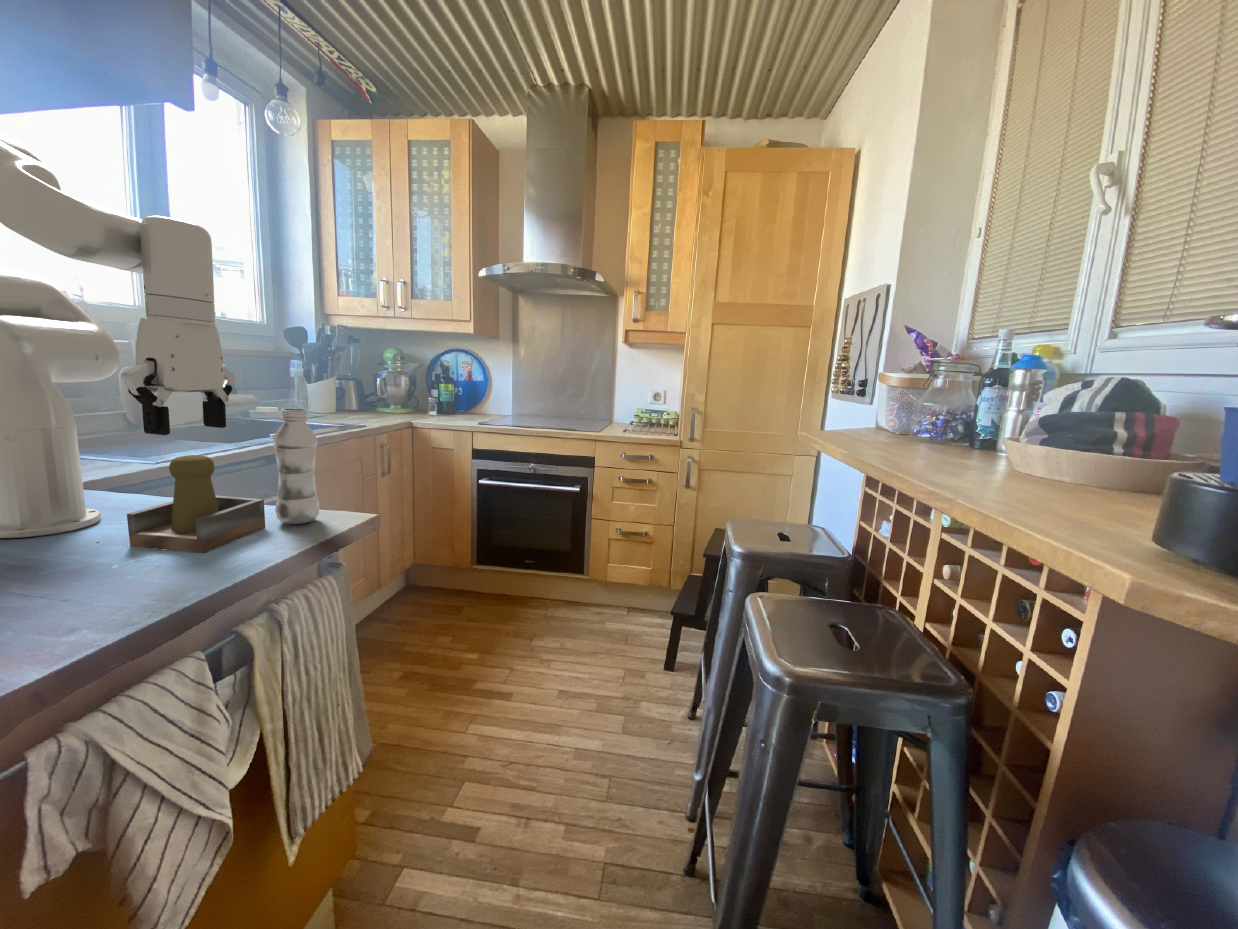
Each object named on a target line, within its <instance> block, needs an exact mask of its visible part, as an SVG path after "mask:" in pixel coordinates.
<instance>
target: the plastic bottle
mask: <svg viewBox="0 0 1238 929" xmlns="http://www.w3.org/2000/svg"><path fill="white" fill-rule="evenodd" d="M280 411H281V413H280V414H281V416H280V420H281V421H282V424H281V425H280V426H279V428H278V429H277V431H276V432H275V434H274V436H273V439H272V444H273V449H274V454H275V458H276V459H275V460H276V466H277V471H278V474H277V475H278V484H277V490H278V491H277V498H276V502H275V514H276V518H277V519H278V521H279V522H280V523H282V524H286V525H299V524H306V523H311V522H313V521H315V520H316V519H317V518H318V516H319V513H320V501H319V497H318V494H317V486H316V478H315V477H316V476H315V473H316V471H315V469H316V456H317V449H318V438H317V435H316V433H315V432H314V431H313V430H312V428H311V427H310V426H309V425H308V424H307V421H308V420H309V418H308V413H307V412H308V411H307V409H304V408H290V407H289V408H281V410H280Z"/></svg>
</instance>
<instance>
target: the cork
mask: <svg viewBox="0 0 1238 929" xmlns="http://www.w3.org/2000/svg"><path fill="white" fill-rule="evenodd" d="M214 462H215V461H214V460H213V459H212V457H209V456H207V455H206V456H205V455H198V454H197V455H196V454H191V455H190V454H188V455H182V456H177V457H174V458H172V460H171V461H170V463H169V466H168V469H169V473H170V475H171V476H172V477H173V478H174V489H173V500H172V501H173V510H172V522H171V530H173V531H176V532H196V522H195V519H198V518H201V517H204V516H207V515H210V514H213V513H217V512H219V509H218V505H217V501H216V497H215V495H216V494H215V489H214V486H213V481H212V477H211V476H212V475H213V474H214V472H215V463H214Z"/></svg>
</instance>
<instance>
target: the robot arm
mask: <svg viewBox="0 0 1238 929" xmlns="http://www.w3.org/2000/svg"><path fill="white" fill-rule="evenodd" d="M0 224H2V225H3V226H4V227H6V228H7V229H9V230H11V231H12V232H14V233H16V234H18V235H20V236H22V237H24V238H25V239H28V240H29V241H31V242H33V243H36V244H37V245H38V246H41V247H43V248H45V249H47V250H49V251H51V252H53V253H55V254H58V255H60V256H64V257H66V258H69V259H73V260H76V261H81V262H86V263H91V264H94V265H95V264H96V265H100V266H104V267H105V266H106V267H111V268H115V269H118V270H122V271H128V272H132V273H135V274H136V273H137V274H140V275H141V274H142V282H143V294H144V295H143V296H144V297H143V298H144V308H145V310H144V312H145V317H141V318H140V320H139V324H138V327H137V332H136V340H135V362H134V364H135V365H133V367H131V368H129V369H127V370H125V371H123V372H122V373H120V376H121V377H120V378H121V379H122V381H123V383H124V384H125V386H126V388H128V390H127V391H128V394H130V396H132V397H133V398H134V399H135V400H136V402H135V403H137V405H139V406H141V409H142V410H141V411H142V422H143V423H142V424H143V432H144V433H145V434H149V435H156V436H157V435H158V436H168V435H170V433H171V425H170V424H171V423H170V410H169V406H166V405H165V403H166V402H167V400H168V399H169V398H170V396H171V395H172V393H198V392H200V393H201V394H202V396H203V397H204V399H205V400H202V417H203V418H202V420H203V422H202V423H203V426H205V427H209V428H218V429H224V428H226V427H227V415H226V414H227V413H226V408H227V407H226V403H228V402H229V399H230V398H229V396H230V394H231V393H232V392H233V385H234V382H235V380H236V374H234V372H231V371H230V369H227V368H226V367H224V359H223V358H224V356H223V351H222V349H223V348H222V345H221V340H220V334H219V331H218V328H217V326H216V315H217V314H216V310H215V290H214V288H215V287H214V285H215V284H214V265H213V245H212V244H213V243H212V238H211V235H210V233H209V231H207V229H205V228H204V227H203V226H200V225H198V224H195V223H193V222H190V221H186V220H181V219H178V218H173V217H167V216H161V215H148V216H145V217H143V218H142V219H141V218H138V217H134V216H132V215H129V214H126V213H123V212H120V211H116V210H114V209H110V208H108V207H105V206H101V205H99V204H96V203H92V202H88V201H85V200H82V199H79V198H76V197H74V196H72V195H70V194H67V193H65V192H63V191H61V186H60V182H59V181H58V178H57V177H56V176H55V175H54V174H53V172H52V171H51V170H50V169H49V168H48V167H47V166H45V164H44V163H43V161H42V160H41V159H40V158H39V156H37V154H36V153H35V152H33V151H32V150H31V149H30V148H29V147H27V146H26V145H24V144H22V143H21V142H19V141H18V140H15V139H13V138H12V137H8V136H6V135H4V134H0ZM120 363H121V356H120V352H119V349H118V347H117V345H116V343H115V341H114V340H113V338H112V337H111V335H110V334H109V333H108V332H107V331H106V329H104V328H103V327H102V326H101V325H100V324H99V323H98V322H97V321H95V320H94V318H92V317H91V316H90V315H89V314H88V313H87V312H86V311H85V310H84V309H83V308H82V307H81V306H80V305H79V304H77V303H76V302H75V301H74V300H73V299H72V298H71V297H70V296H69V295H68V294H67V293H65V291H63V290H62V289H61V288H60V287H58V286H57V285H56V284H54V283H52V282H51V281H50V280H48V279H46V278H44V277H43V276H42V277H41V276H39V275H38V274H35V273H31V272H29V271H25V270H21V269H15V268H10V267H5V266H0V539H13V538H14V539H15V538H17V539H18V538H29V537H39V536H40V537H41V536H47V535H55V534H60V533H66V532H71V531H74V530H75V531H76V530H78V529H82V528H86V527H89V526H91V525H94V524H96V523H98V522H99V521H100V520H101V518H102V516H101V511H99V510H97V509H94V508H88V507H87V506H86V500H85V491H84V483H83V476H82V468H81V460H80V459H81V458H80V450H79V442H78V441H79V440H78V436H77V435H78V434H77V428H76V427H77V426H76V421H75V413H74V411H73V408H72V407H71V404H70V403H69V401H68V400H67V398H65V396H64V395H63V394H62V392H61V391H60V390H59V389H58V387H57V386H55V384H54V383H83V382H85V383H86V382H87V383H88V382H96V381H102V380H105V379H107V378H109V377H111V376H112V375H114V374H115V373H116V371H117V370H118V368H119V366H120ZM155 394H156V395H155ZM86 507H87V508H86Z"/></svg>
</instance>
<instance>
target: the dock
mask: <svg viewBox="0 0 1238 929" xmlns="http://www.w3.org/2000/svg"><path fill="white" fill-rule="evenodd" d="M215 497H216V501H217V505H218V509H219V512H217V513H213V514H210V515H207V516H204V517H201V518H198V519H195V522H196V532H176V531H173V530H171V522H172V510H173V500H171V501H169V502H165V503H162V504H159V505H154V506H150V507H147V508H144V509H140V510H139V509H138V510H136V511H132V512H128V513H127V514H126V520H127V528H128V538H129V547H130V548H137V547H140V548H139V549H149V548H157V549H156V550H161V549H166V550H165V551H173V552H185V551H188V552H187V553H197V554H198V553H199V554H206V553H209V552H210V551H213V550H216V549H218V548H221V547H223V546H226V545H228V544H230V543H233V542H235V541H237V540H239V539H243V538H245V537H247V536H250V535H252V534H254V533H257V532H259V531H261V530H264V529H266V518H265V517H266V516H265V514H266V513H265V499H262V498H250V497H242V496H241V497H238V496H229V495H228V496H226V495H216V494H215ZM225 544H226V545H225Z"/></svg>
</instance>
